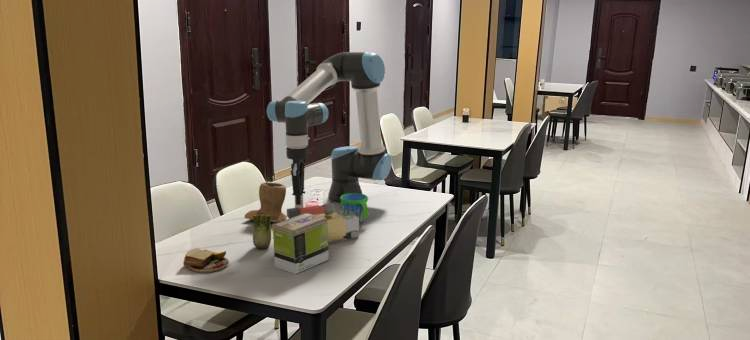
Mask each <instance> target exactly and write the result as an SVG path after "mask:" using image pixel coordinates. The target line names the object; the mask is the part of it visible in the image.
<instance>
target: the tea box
mask: <svg viewBox="0 0 750 340" xmlns="http://www.w3.org/2000/svg"><path fill="white" fill-rule="evenodd" d="M272 236H273V237H272V239H273V254H274V255H273V257H274V267H275V268H278V269H280V270H282V271H285V272H289V273H291V274H294V275H297V274H300V273H301V272H303V271H306V270H309V269H311V268H312V267H315V266H318V265H320V264H322V263H324V262H327V261H329V259H330V258H329V257H330V255H329V244H328V230H327V218H324V217H320V216H316V215H312V214H308V213H304V214H301V215H298V216H295V217H292V218H286V219H285V220H283V221H281V222H274V223H272Z"/></svg>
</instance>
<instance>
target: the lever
mask: <svg viewBox="0 0 750 340" xmlns="http://www.w3.org/2000/svg"><path fill="white" fill-rule="evenodd" d="M334 212H335V204H333V203H324V204H322V205H315V206H305V207H304V206H303V208H295V207H292V208H286V216H287V219H289V218H292V217H295V216H298V215H301V214H304V213H308V214H312V215H319V214H332V213H334Z"/></svg>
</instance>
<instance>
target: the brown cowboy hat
mask: <svg viewBox="0 0 750 340" xmlns="http://www.w3.org/2000/svg"><path fill="white" fill-rule="evenodd" d="M286 194H287V187H286V185H284V184H283V183H277V182H267V181H265V182H264V181H263V182H262V183H261V184H260V185H259V188H258V195H259V196H258V198H259V202H260V208H259V209H254V210H253V209H252V210H249V211H247V212H246V213H245V214H244V216H243V217H244V218H245V219H247V220H253V215H260V219H261V215H265V221H266V218H267V215H268V216H270V223H278V222H281V221H283V220H286V219H288V217H287V214H285V213H283V211H282V207H283V205H284V202H285V199H286ZM257 220H258V219H257ZM253 221H254V220H253Z"/></svg>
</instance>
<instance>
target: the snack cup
mask: <svg viewBox="0 0 750 340" xmlns="http://www.w3.org/2000/svg"><path fill="white" fill-rule="evenodd" d="M368 200H369V196H367V194H363V193H362V194H359V193H349V194H344V195H342V196H341V198H340V201H341V203H339V204H340V205H339V206H340V209H342V214H343V215H342V216H345V215H350V214H353V215H355V216H357V217H359V225H360V224H361V223H363V222H364V220H365V219H367V218H368V217H369V210H368V204H367V203H368Z"/></svg>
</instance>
